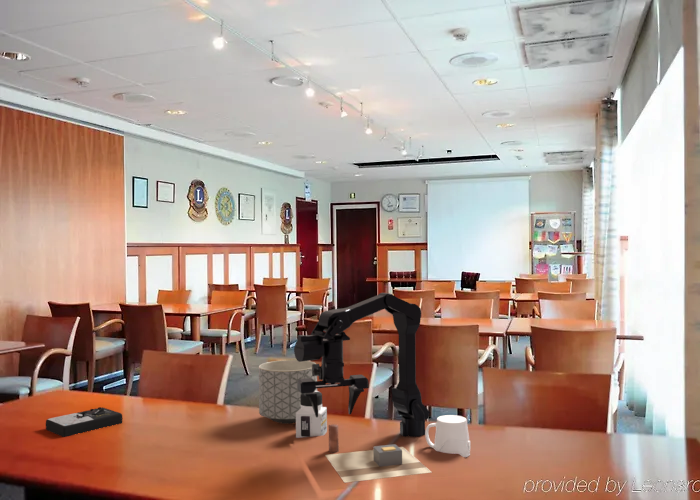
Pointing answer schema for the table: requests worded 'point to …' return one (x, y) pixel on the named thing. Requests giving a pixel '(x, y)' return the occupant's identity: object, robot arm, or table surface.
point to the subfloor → (373, 466)
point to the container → (311, 418)
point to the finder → (387, 455)
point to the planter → (282, 389)
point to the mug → (450, 435)
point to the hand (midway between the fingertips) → (333, 415)
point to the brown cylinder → (333, 438)
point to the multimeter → (83, 421)
